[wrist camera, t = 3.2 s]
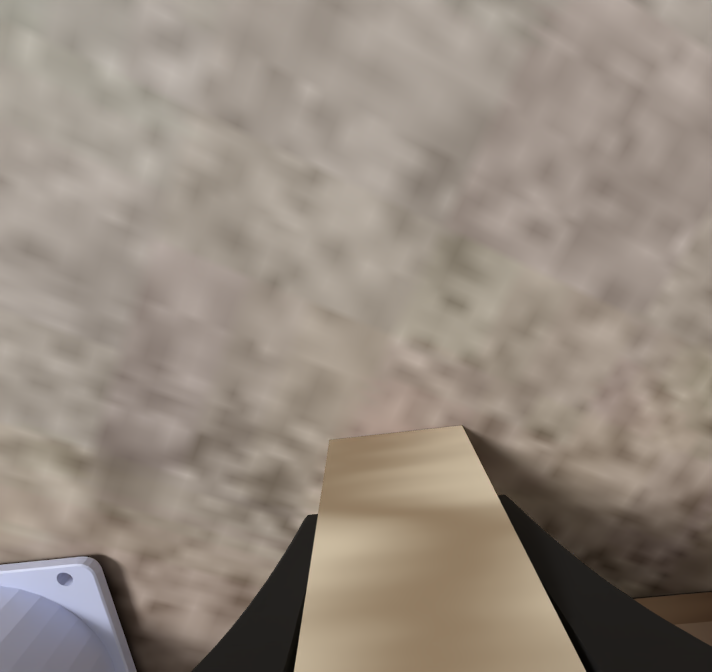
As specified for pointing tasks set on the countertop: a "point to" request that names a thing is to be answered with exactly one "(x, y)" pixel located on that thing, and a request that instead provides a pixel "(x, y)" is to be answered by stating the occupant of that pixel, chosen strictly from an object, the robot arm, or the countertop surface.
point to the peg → (422, 566)
